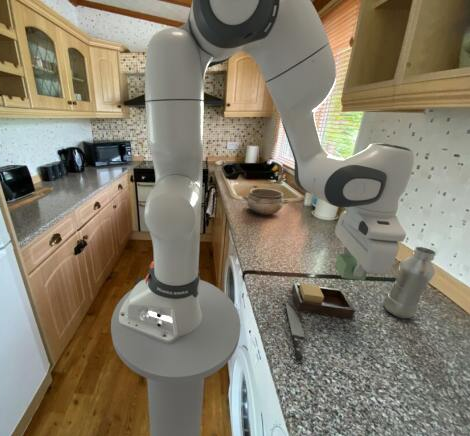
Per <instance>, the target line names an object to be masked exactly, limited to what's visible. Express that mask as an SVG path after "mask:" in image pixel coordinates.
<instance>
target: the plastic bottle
mask: <svg viewBox="0 0 470 436" xmlns="http://www.w3.org/2000/svg"><path fill="white" fill-rule="evenodd" d="M436 253H437V252H436V251H434V250H432V249H430V248H428V247H422V246H416V247H415V248H414V250H413V252H412V253H411V256H408V257H406V258H404V259H403V260H402V261H400V263H399V266H398V271H397V275H396V279H395V282H394V284H393V286H392V288H391V289H390V291H389V293H388V294H387V295H386V296H385V298H384V300H383V306H384V308H385V310H386V311H387V312H388V313H390V314H391V315H393V316H395V317H397V318H401V319H411V318H413V317H414V316H415V314H416V313H417V312H418V311H417V310H418V306H419V305H418V304H419V301H420V298H421V295H422V293H423V291H424V290H425V288H426V287H427V285H428V284H429V283H430V282H431V280H432V279H433V277H434V276H435V274H436V269H435V267H434V265H433V263H432V262H433V261H434V259H435V256H436Z"/></svg>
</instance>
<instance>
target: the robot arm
mask: <svg viewBox="0 0 470 436" xmlns="http://www.w3.org/2000/svg"><path fill="white" fill-rule="evenodd" d="M240 52H242V53H245V54H247V55H249V56H250V57H251V59H253V61H254V62H255V64H256V65H258V68H259V71H260V74H261V76H262V79H263V81H264V84H265V86H266V89H267V91H268V93H269V95H270V97H271V99H272V102H273V104H274V106H275V108H276V110H277V112H278V115H279V118H280V121H281V124H282V128H283V132H284V133H285V135H286V139H287V142H288V144H289V147H290V151H291V154H292V156H293V161H294V169H293V170H294V174H293V175H294V181H295V184H296V186H297V187H298V189H300V190H301V191H303V192H305V193H308V194H310V195H312V196H314V197H316V198H318V199H320V200H321V201H323V202H325V203H327V204H329V205H331V206H334V207H336V208H345V211H342V212H341V214H340V215H339V218H338V220H337V223H336V226H335V227H334V228H335V230H334V234H335V236H336V237H337V238H338V239H339V241H340V242H341V243H342V245H341V249H342V251H341V252H342V253H341V254H346V255H353V256H354V257H355V259H356V260H357V264H358V265H357V266H356V267H353V269H352V274H353V275H354V276H356V277H362V275H363V272H364V271H366V272H367V274H372V275H380V276H385V275H387V274H389V272H390V271H391V270H392V268H393V265H394V263H395V261H396V259H397V256H398V253H399V250H400V249H399V248H400V245H399V243H400V242H401V243H402V242H404V241H405V239H406V236H407V233H406V230H404V228H403V227H402V225H401V223H400V221H399V218H398V216H397V212H398V210H399V200H400V198H401V196H402V195H403V194H404V192H406V189H407V186H408V183H409V180H410V178H411V175H412V172H413V167H414V162H415V154H414V152H413V151H412V150H411V149H410V148H409V147H404V146H400V145H396V144H395V145H394V144H389V143H383V142H375V143H370V144H369V145H368V146H367V148H365V149H363V150H362V151H360V152H358V153H356V154H354V155H351V156H348V157H343V158H341V157H337V156H333V155H331V154H330V153H328V152H327V151H326V150H325V149H324V148H323V145H322V142H321V138H320V135H319V131H318V127H317V123H316V118H315V115H316V111H317V109H318V108H319V107H320V106H321V105H322V104H323V103H324V102H325V101H326V100H327V99H328V97H329V96H330V95H331V93H332V91H333V89H334V87H335V83H336V82H337V81H336V80H337V70H336V69H337V68H336V61H335V57H334V53H333V50H332V47H331V43H330V41H329V38H328V35H327V32H326V30H325V27H324V25H323V22H322V20H321V18H320V16H319V14H318V11H317V9H316V8H315V6H314V4H313V3H312V0H192V2H191V5H190V10H189V13H188V16H187V19H186V21H185V23H184V24H182V25H181V26H178V27H169V28H164V29H161V30H160V31H158V32H156V33H155V34H153V36H152V37H151V38H150V40H149V41H148V44H147V49H146V55H145V58H146V59H145V69H144V101H145V102H144V103H145V118H146V133H147V145H148V149H149V151H150V155H151V160H152V164H153V170H154V178H155V183H154V186H153V187H152V189H151V190H150V192H149V193H148V195H147V196H146V197H147V198H146V200H145V204H144V205H145V206H144V214H143V215H144V216H143V217H144V223H145V225H146V227H147V229H148V230H149V235H150V239H151V242H152V250H153V261H151V263H150V264H149V269H148V270H147V272H146V276H145V278H142V277H140V278H139V277H136V278H135V284H134V285H135V286H134V287H133V288H132V289H133V290H132V289H131V290H132V292H131V293H130V296H129V297H128V298H127V299H126V300H125V302H124V304H123V305H122V307H121V310H120V313H119V324H120V325H121V326H123V327H125V328H128V329H131V330H133V331H136V332H138V333H141V334H143V335H146V336H149V337H151V338H154V339H156V340H159V341H161V342H164V343H167V344H170V343H172V342H174V341H175V340H176V339H177V338H179V337H181V336H183V335H186V334H189V333H191V332H193V331H194V330H195V329H196V328H197V327H198V326H199V325H200V323H201V320H202V312H201V309H200V305H199V298H198V293H199V289H200V280H201V277H200V276H201V274H200V273H201V272H200V269H199V262H200V261H199V260H200V243H201V242H200V241H201V238H200V237H201V221H202V220H201V219H202V218H201V216H202V201H203V167H204V165H203V163H204V162H203V161H204V116H205V115H204V111H205V105H204V104H205V80H206V79H205V78H206V72H207V70H208V69H209V68H212V67H215V66H217V65H220V64H223V63H225V62H227V61H228V60H229V59H231V58H232V57H234V56H235V55H237V54H238V53H240ZM163 336H166V337H163Z"/></svg>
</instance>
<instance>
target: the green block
mask: <svg viewBox="0 0 470 436" xmlns="http://www.w3.org/2000/svg"><path fill="white" fill-rule="evenodd" d="M357 265H358V264H357V260H356V259H355V257H354V256H353V255H352V254H351V255H346V254H343V253H338V255H337V257H336V261H335V264H334V268H335V269H336V271H337V273H338V274H339V276H340V277H341V278H342V279H350V280H357V281H366V278H367V276H368V273H367V272H366V271H364V272H363V275H362V277H356V276H354V275H353V274H352V269H353V267H356V266H357Z"/></svg>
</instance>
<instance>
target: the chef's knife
mask: <svg viewBox="0 0 470 436" xmlns="http://www.w3.org/2000/svg"><path fill="white" fill-rule="evenodd" d="M284 302H285V309H286V313H287V318H288V323H289V327H290V332H291V336H292V340H293V344H294V349H295V355H296V358H297V359H298V361H302V360H303V358H304V356H303V354H302V352H301V350H300V349H301V348H300V345H299V339H298V338H306V336H305V333H304V330H303V327H302V323H301V320H300V318H299V316H298V314H297V313H296V311H295V310H294V309H293V307H292V306H291V305H290V304H288V303H287V302H286V301H284Z"/></svg>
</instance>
